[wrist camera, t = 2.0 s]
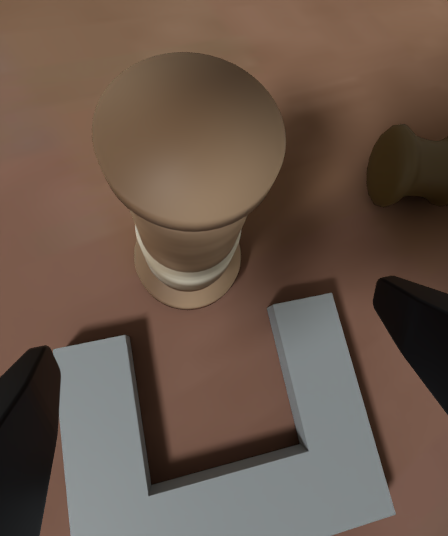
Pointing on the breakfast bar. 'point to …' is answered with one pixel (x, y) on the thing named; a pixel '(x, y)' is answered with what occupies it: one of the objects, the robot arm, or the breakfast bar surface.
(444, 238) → the breakfast bar surface
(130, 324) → the breakfast bar surface
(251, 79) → the bobbin
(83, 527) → the notched board
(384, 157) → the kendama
